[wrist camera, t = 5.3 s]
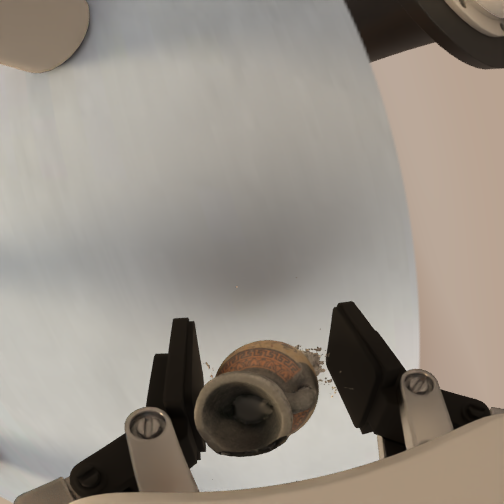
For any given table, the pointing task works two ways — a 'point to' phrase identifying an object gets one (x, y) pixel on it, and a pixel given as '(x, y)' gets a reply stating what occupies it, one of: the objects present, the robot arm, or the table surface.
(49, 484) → the robot arm
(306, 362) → the vase
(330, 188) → the table surface
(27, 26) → the beverage can
